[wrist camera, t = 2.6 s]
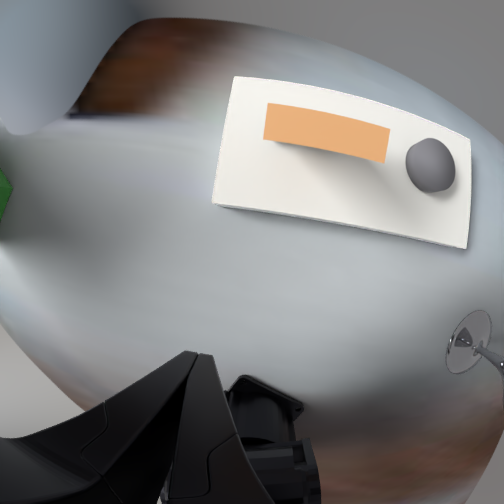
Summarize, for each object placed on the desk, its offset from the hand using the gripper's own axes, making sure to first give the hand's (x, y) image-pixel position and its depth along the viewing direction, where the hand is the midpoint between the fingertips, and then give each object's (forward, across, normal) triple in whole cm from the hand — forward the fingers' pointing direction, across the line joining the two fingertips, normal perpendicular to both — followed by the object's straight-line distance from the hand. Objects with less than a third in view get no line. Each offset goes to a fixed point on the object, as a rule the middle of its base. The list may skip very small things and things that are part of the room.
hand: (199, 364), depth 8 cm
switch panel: (+14, -8, -8) cm, 18 cm away
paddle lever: (+10, -3, -9) cm, 14 cm away
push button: (+10, -12, -8) cm, 18 cm away
